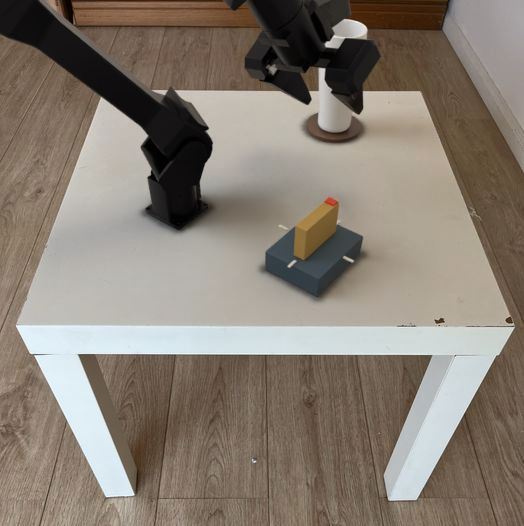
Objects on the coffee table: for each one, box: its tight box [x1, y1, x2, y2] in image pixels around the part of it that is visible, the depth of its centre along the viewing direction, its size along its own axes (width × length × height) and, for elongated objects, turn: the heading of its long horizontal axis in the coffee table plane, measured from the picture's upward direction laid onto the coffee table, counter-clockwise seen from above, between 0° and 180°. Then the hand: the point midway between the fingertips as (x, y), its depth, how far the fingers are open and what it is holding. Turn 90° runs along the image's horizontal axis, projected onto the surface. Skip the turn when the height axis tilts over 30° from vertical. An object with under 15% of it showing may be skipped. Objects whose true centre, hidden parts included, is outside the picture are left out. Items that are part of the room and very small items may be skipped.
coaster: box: [305, 112, 362, 144], centre depth 96 cm, size 9×9×1 cm
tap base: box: [264, 219, 364, 297], centre depth 74 cm, size 11×11×3 cm
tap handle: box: [294, 196, 340, 260], centre depth 71 cm, size 7×2×5 cm, turn 142°
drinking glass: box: [317, 18, 368, 133], centre depth 89 cm, size 7×7×15 cm
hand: (333, 106), depth 79 cm, fingers open, 9 cm apart
